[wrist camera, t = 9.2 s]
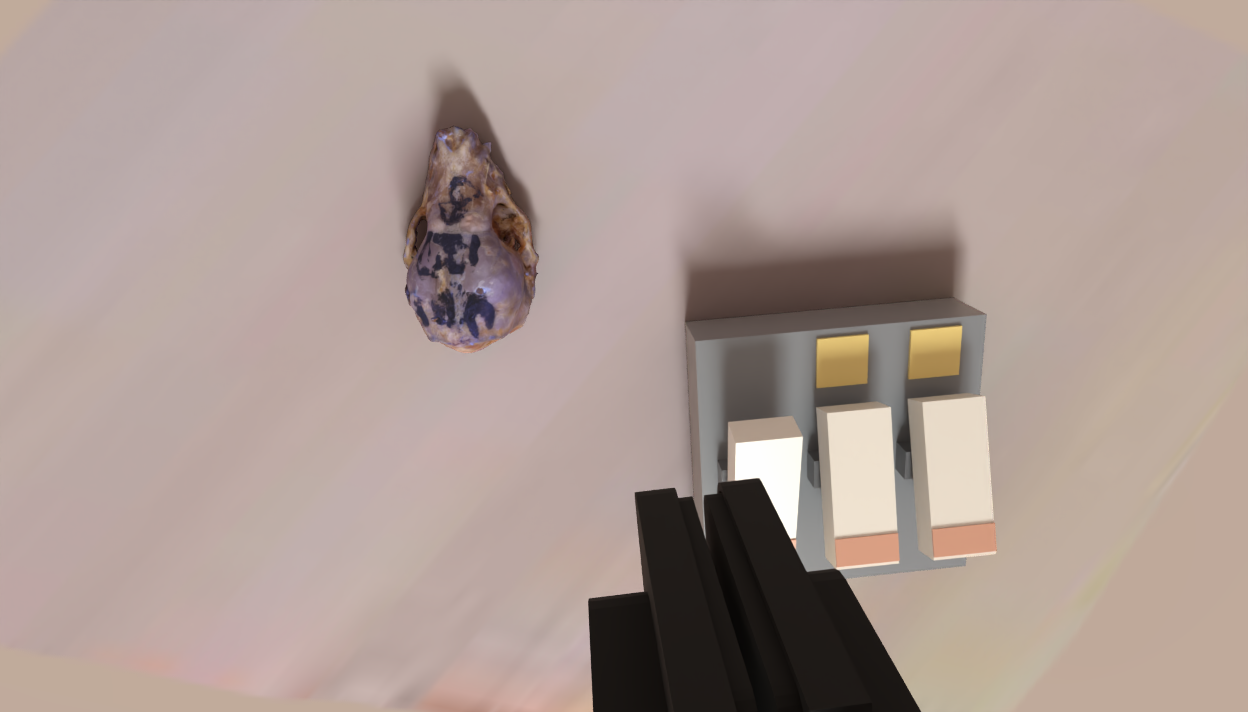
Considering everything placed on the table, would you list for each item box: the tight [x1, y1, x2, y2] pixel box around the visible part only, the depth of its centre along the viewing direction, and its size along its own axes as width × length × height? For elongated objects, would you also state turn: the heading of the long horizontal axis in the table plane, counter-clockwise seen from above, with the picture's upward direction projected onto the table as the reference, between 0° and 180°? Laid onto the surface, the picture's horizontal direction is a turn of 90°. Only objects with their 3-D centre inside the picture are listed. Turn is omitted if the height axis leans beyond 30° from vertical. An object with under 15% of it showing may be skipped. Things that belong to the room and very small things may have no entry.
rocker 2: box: [816, 401, 900, 570], centre depth 44 cm, size 9×4×2 cm, turn 4°
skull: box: [403, 126, 539, 353], centre depth 42 cm, size 12×8×6 cm, turn 174°
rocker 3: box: [908, 393, 997, 561], centre depth 44 cm, size 9×4×2 cm, turn 4°
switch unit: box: [685, 298, 987, 579], centre depth 48 cm, size 17×17×5 cm
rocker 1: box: [728, 416, 803, 549], centre depth 44 cm, size 9×4×2 cm, turn 4°
